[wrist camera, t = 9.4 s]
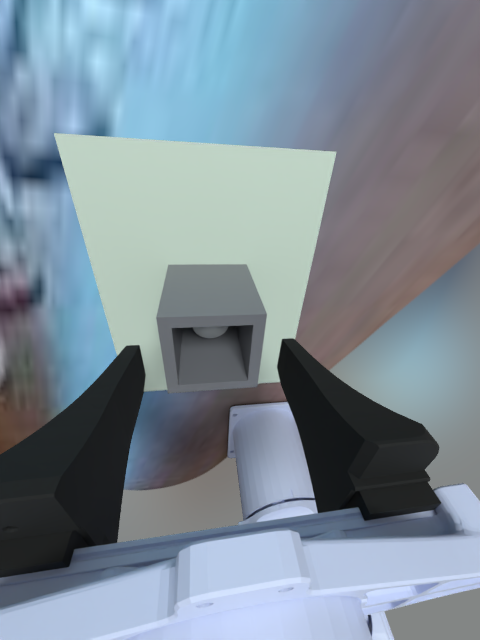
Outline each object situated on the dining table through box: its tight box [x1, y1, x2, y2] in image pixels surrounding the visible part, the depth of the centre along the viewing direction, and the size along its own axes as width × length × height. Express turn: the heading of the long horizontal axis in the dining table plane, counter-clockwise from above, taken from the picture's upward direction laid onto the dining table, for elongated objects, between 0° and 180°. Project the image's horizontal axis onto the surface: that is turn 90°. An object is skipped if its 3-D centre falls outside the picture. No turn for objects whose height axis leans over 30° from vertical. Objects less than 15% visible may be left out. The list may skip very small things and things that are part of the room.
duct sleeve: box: [156, 264, 267, 393], centre depth 16 cm, size 5×5×6 cm
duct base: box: [54, 133, 336, 392], centre depth 17 cm, size 18×14×4 cm
